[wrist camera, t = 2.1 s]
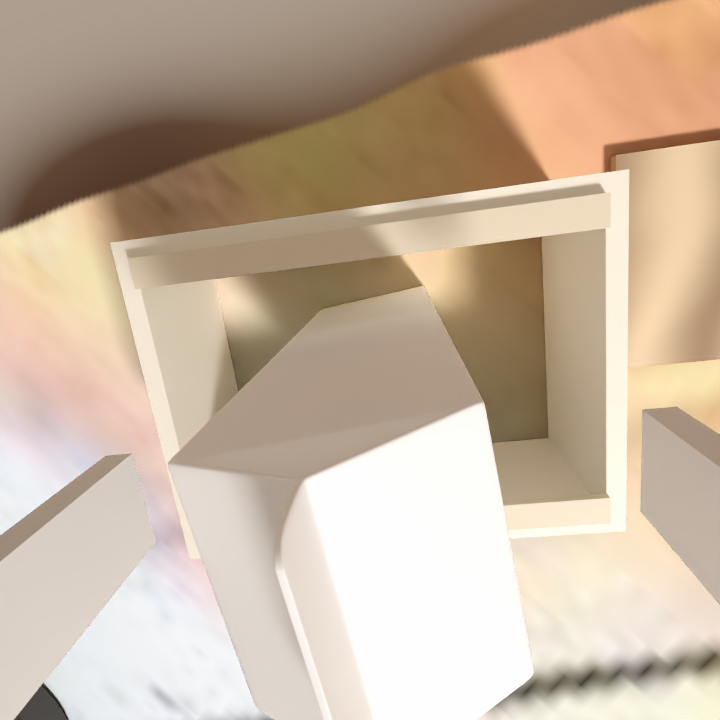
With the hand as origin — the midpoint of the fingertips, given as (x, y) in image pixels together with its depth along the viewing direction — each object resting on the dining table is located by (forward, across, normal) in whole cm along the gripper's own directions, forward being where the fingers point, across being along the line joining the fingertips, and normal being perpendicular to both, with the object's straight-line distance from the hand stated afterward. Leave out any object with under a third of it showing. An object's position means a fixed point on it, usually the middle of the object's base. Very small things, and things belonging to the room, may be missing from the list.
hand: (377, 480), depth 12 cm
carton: (+16, 0, 0) cm, 16 cm away
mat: (+16, +18, +3) cm, 24 cm away
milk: (+16, 0, 0) cm, 16 cm away
